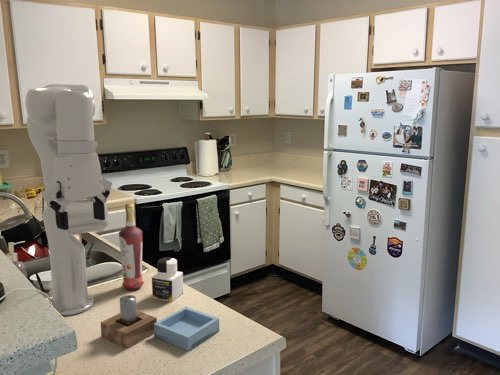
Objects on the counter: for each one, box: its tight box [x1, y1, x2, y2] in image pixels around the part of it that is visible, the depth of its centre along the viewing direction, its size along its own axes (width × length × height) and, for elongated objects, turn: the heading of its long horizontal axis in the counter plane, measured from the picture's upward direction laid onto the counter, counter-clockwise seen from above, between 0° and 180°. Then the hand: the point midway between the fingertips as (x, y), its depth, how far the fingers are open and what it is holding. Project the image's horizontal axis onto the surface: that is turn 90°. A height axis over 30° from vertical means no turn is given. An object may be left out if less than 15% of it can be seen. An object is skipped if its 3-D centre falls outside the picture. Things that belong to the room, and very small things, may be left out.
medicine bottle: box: [151, 257, 184, 302], centre depth 139 cm, size 7×7×12 cm
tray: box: [153, 306, 220, 352], centre depth 116 cm, size 12×12×4 cm
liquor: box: [118, 202, 145, 291], centre depth 143 cm, size 7×7×28 cm
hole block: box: [100, 309, 158, 349], centre depth 116 cm, size 10×10×4 cm
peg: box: [119, 294, 137, 327], centre depth 115 cm, size 4×4×10 cm
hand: (81, 223), depth 100 cm, fingers open, 9 cm apart
